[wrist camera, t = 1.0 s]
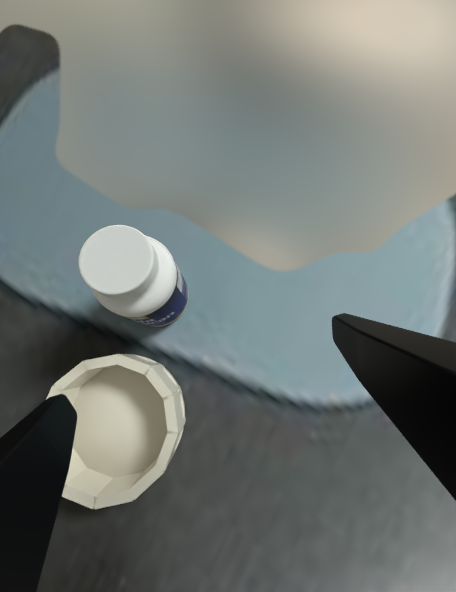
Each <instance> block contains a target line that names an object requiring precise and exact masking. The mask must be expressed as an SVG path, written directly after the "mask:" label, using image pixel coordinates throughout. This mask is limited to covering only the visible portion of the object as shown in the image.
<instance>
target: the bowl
mask: <svg viewBox="0 0 456 592" xmlns="http://www.w3.org/2000/svg"><path fill="white" fill-rule="evenodd" d="M180 388H181V387H180V386H179V385H178V383H177V381H176V379H175V378H174V377H173V375H172V374H171V373H170V372H169V371H168V370H167V369H166V368H165V367H164V366H163V365H162V364H160V363H158V362H156V361H154V360H152V359H150V358H147V357H143V356H138V355H136V354H116V355H110V356H105V357H100V358H95V359H89V360H84V361H82V362H81V363H80V364H78V365H77V366H76V367H75V368H73V369H72V370H71V371H70V372H68V373H67V374H66V375H65V376H63V377H62V378H61V379H60V380H58V381H57V382H56V383H55V384H54V386H52V388H51V390H50V392H49V394H48V396H47V398H49V397H51V396H55V395H59V394H64V395H66V396H67V398H68V399H69V401H70V402H71V404H72V405H73V407H74V409H75V410H76V412H77V424H76V430H75V437H74V443H73V449H72V455H71V461H70V466H69V470H68V475H67V478H66V482H65V486H64V490H63V493H62V497H64V498H66V499H69V500H71V501H74V502H76V503H78V504H81V505H83V506H86V507H88V508H91V509H93V508H94V510H95V509H99V508H104V507H109V506H113V505H118V504H123V503H127V502H132V501H133V500H135V499H136V498H137V497H138V496H139V495H140V494H141V493H143V492H144V491H145V490H146V489H147V488H148V487H149V486H150V485H151V484H152V483H153V482H154V481H156V480H157V479H158V478H159V477H160V476H161V475H162V474H163V473H164V472H165V470H166V468H167V466H168V464H169V462H170V460H171V458H172V457H173V455H174V453H175V450H176V448H177V446H178V444H179V442H180V439H181V437H182V434H183V430H184V425H185V421H186V418H185V403H184V398H183V394H182V390H181V389H180ZM47 398H46V399H47Z"/></svg>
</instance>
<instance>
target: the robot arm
mask: <svg viewBox="0 0 456 592" xmlns="http://www.w3.org/2000/svg"><path fill="white" fill-rule="evenodd" d="M332 333H333V340H334V342H335V344H336V346H337V347H338V349H339V350H340V352H341V354H342V355H343V357H344V358H345V360H346V361H347V363H348V364H349V366H350V368H351V369H352V371H353V372H354V374H355V375H356V377H357V378H358V380H359V381H360V382H361V384H362V385H363V386H364V387H365V389H366V390H367V391H368V392H369V394H370V395H371V396H372V397H373V399H374V400H375V401H376V402H377V404H378V405H379V406H380V407H381V409H382V410H383V411H384V412H385V414H386V415H387V416H388V417H389V418H390V420H391V421H392V422H393V423H394V425H395V426H396V427H397V428H398V430H399V431H400V432H401V433H402V435H403V436H404V437H405V438H406V440H407V441H408V442H409V443H410V445H411V446H412V447H413V448H414V450H415V451H416V452H417V453H418V454H419V456H420V457H421V458H422V459H423V461H424V462H425V463H426V464H427V466H428V467H429V468H430V469H431V471H432V472H433V473H434V474H435V476H436V477H437V478H438V479H439V481H440V482H441V483H442V484H443V486H444V487H445V488H446V489H447V490H448V492H449V493H450V494H451V495H452V497H453V498H454V499H455V500H456V342H452V341H448V340H444V339H440V338H437V337H433V336H429V335H425V334H421V333H418V332H414V331H410V330H406V329H403V328H399V327H395V326H391V325H387V324H384V323H380V322H376V321H372V320H368V319H365V318H361V317H357V316H353V315H350V314H346V313H343V314H339V315H336V316H334V317H333V318H332ZM76 424H77V412H76V410H75V409H74V407H73V405H72V404H71V402H70V401H69V399H68V398H67V396H66V395H64V394H59V395H55V396H51V397H49V398H47V399H46V400H45V401H44V402H43V403H41V404H40V405H39V406H38V407H37V408H35V409H34V410H33V411H32V412H31V413H30V414H28V415H27V416H26V417H25V418H24V419H22V420H21V421H20V422H19V423H18V424H16V425H15V426H14V427H13V428H12V429H11V430H9V431H8V432H7V433H6V434H5V435H3V436H2V437H1V438H0V592H36V591H37V587H38V583H39V579H40V576H41V572H42V568H43V564H44V561H45V557H46V553H47V549H48V546H49V542H50V538H51V535H52V531H53V527H54V523H55V520H56V516H57V512H58V508H59V505H60V501H61V497H62V493H63V490H64V486H65V482H66V478H67V475H68V470H69V466H70V461H71V455H72V449H73V443H74V437H75V430H76Z"/></svg>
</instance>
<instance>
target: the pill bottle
mask: <svg viewBox="0 0 456 592" xmlns="http://www.w3.org/2000/svg"><path fill="white" fill-rule="evenodd" d="M79 270H80V273H81V276H82V278H83V279H84V281H85V282H86V284H87V285H88V286H89V287H91V288H92V290H93V292H94V294H95V296H96V298H97V299H98V301H99V302H100V303H101V304H102V305H103V306H104V307H105V308H107V309H108V310H110V311H111V312H113V313H116V314H118V315H120V316H123V317H125V318H128V319H130V320H133V321H135V322H139V323H141V324H144V325H147V326H152V327H160V326H165V325H168V324H170V323H172V322H174V321H176V320H177V319H178V318H179V317H180V316H181V315H182V314H183V312H184V311H185V309H186V307H187V304H188V299H189V292H188V287H187V284H186V282H185V280H184V278H183V276H182V274H181V272H180V270H179V268H178V267H177V265H176V263H175V261H174V259H173V257H172V255H171V254H170V252H169V251H168V250H167V248H166V247H165V246H164V245H163V244H161V243H160V242H159V241H157V240H155V239H153V238H151V237H148V236H145V235H144V234H142V233H141V232H140V231H138V230H137V229H135V228H132V227H129V226H125V225H113V226H108V227H105V228H102V229H100V230H98V231H97V232H95V233H94V234H93V235H91V236H90V237H89V238H88V239H87V241H86V242H85V244H84V245H83V247H82V249H81V252H80V255H79Z"/></svg>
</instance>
